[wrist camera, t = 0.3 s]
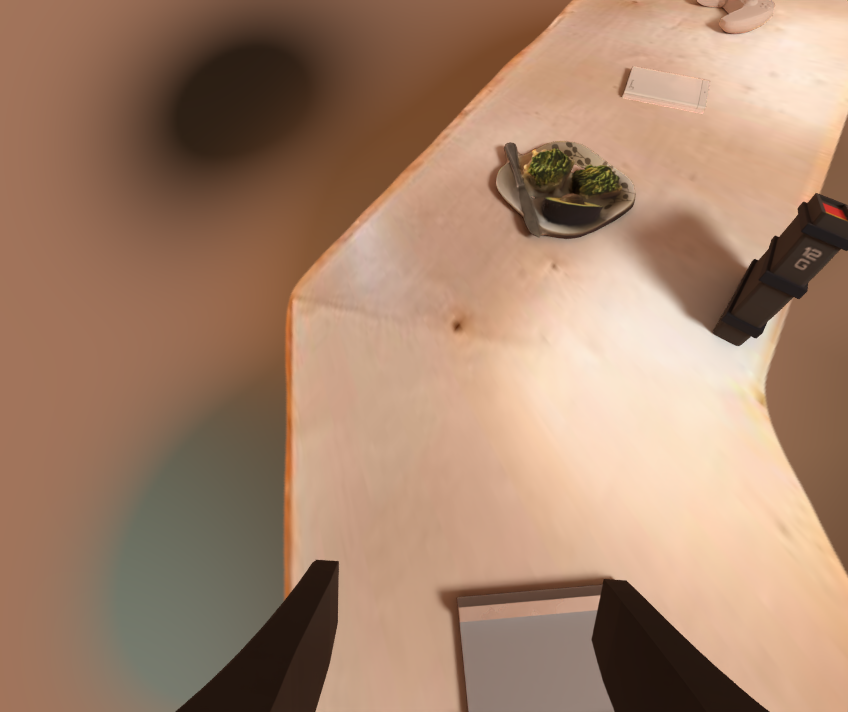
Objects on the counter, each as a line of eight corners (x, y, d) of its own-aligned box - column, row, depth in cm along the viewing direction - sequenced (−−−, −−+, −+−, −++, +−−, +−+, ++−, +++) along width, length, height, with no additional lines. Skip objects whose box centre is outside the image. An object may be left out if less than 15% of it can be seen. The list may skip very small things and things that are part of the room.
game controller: (693, -17, 84) (749, -36, 83) (686, 9, 88) (740, -9, 86) (728, 20, 77) (791, 0, 76) (720, 47, 81) (779, 28, 79)
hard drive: (624, 91, 71) (706, 106, 68) (632, 64, 74) (711, 78, 72) (620, 101, 72) (700, 117, 70) (629, 74, 76) (706, 88, 73)
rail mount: (662, 750, 33) (675, 758, 31) (473, 767, 32) (475, 777, 31) (619, 583, 38) (628, 582, 36) (456, 597, 38) (457, 597, 36)
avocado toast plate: (460, 174, 64) (461, 145, 60) (556, 131, 69) (563, 102, 64) (545, 260, 56) (553, 234, 52) (648, 205, 60) (664, 177, 56)
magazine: (704, 344, 47) (818, 210, 38) (717, 303, 57) (811, 188, 47) (740, 363, 46) (867, 230, 37) (747, 318, 55) (849, 203, 46)
